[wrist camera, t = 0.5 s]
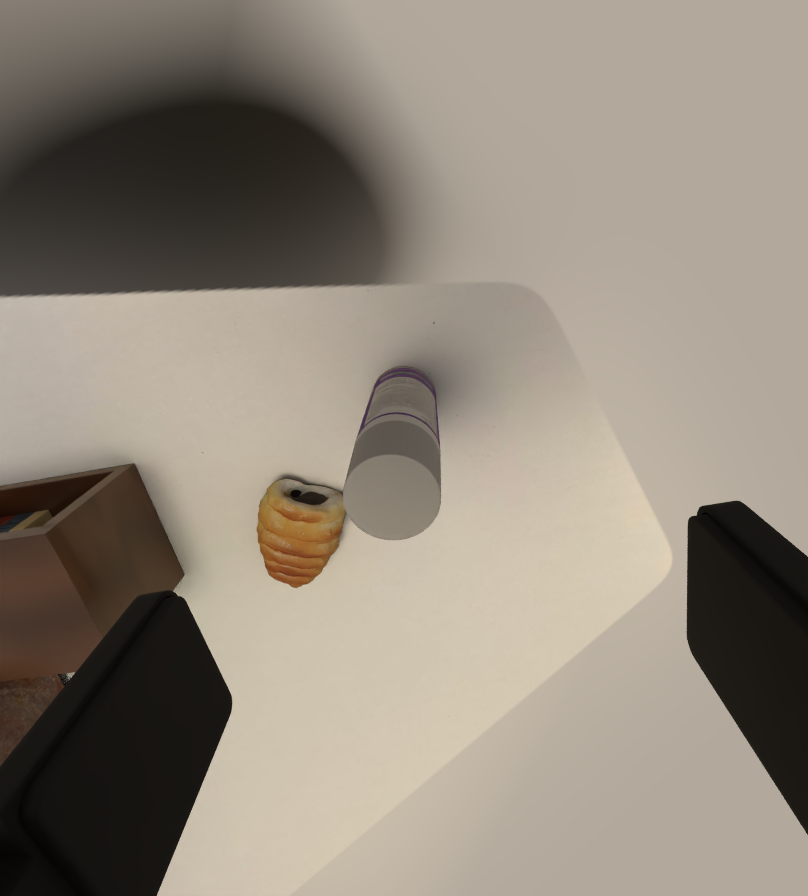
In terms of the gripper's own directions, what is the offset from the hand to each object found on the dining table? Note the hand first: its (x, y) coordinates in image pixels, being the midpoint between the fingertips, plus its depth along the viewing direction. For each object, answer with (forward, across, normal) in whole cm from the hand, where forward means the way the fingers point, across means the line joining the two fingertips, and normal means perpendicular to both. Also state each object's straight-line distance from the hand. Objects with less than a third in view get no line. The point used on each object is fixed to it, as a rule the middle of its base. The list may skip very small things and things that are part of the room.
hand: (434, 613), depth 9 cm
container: (+27, +2, +4) cm, 28 cm away
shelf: (+27, +32, +10) cm, 43 cm away
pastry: (+27, +13, +13) cm, 33 cm away
